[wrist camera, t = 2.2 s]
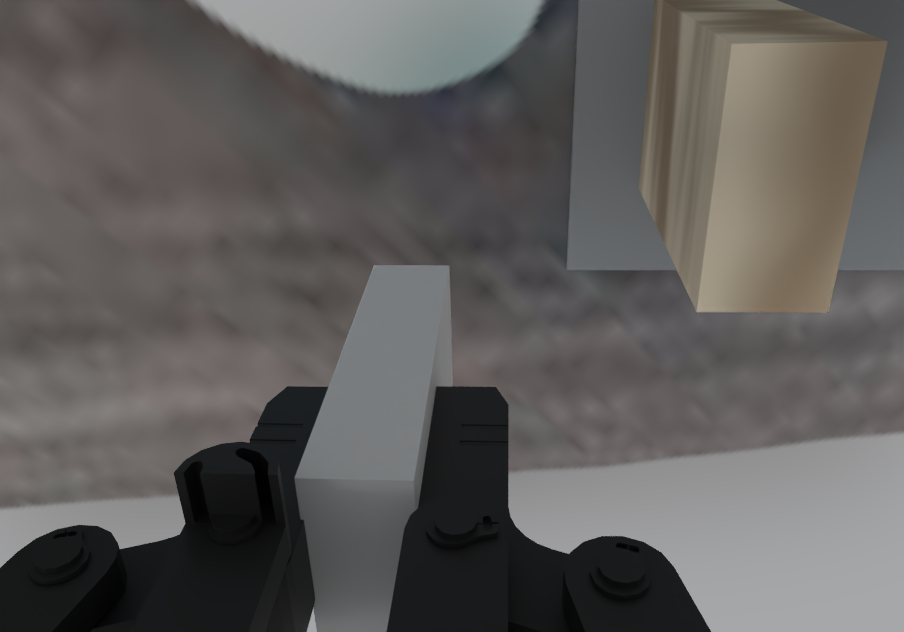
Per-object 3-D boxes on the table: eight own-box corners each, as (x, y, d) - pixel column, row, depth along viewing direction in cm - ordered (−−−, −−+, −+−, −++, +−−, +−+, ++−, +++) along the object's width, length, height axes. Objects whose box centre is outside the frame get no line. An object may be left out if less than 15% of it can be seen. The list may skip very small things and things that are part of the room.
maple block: (638, 188, 35) (696, 312, 25) (655, -5, 32) (731, 43, 21) (730, 187, 35) (828, 312, 24) (757, -7, 31) (887, 41, 21)
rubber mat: (566, 265, 38) (567, 270, 37) (583, -117, 30) (584, -117, 30) (1003, 265, 37) (1009, 270, 36) (1132, -133, 29) (1142, -134, 29)
